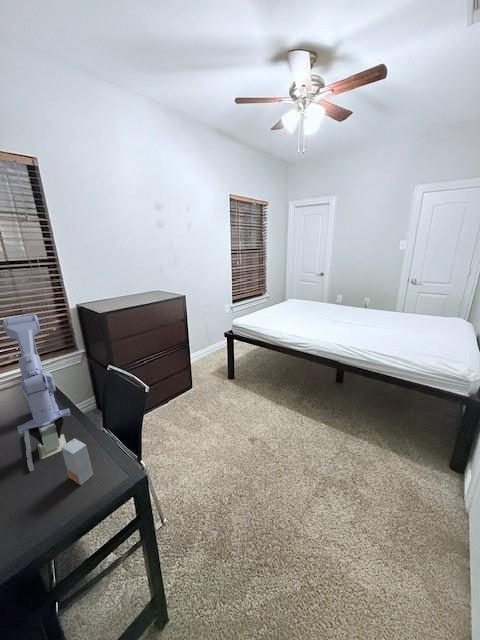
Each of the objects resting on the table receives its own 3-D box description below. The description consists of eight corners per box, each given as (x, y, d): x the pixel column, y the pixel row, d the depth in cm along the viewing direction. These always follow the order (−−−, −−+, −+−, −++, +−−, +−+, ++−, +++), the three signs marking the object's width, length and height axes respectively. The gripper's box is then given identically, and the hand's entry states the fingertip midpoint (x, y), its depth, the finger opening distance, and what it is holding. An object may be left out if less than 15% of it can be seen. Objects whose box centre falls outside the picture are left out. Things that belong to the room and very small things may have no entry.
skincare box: (68, 478, 81) (60, 446, 78) (82, 467, 85) (74, 437, 81) (80, 486, 79) (72, 454, 75) (94, 475, 82) (86, 444, 79)
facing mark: (37, 445, 95) (37, 444, 94) (63, 434, 100) (63, 433, 99) (40, 460, 88) (40, 459, 88) (67, 447, 93) (67, 447, 93)
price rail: (24, 435, 99) (23, 431, 99) (28, 433, 100) (27, 430, 100) (29, 472, 84) (28, 468, 83) (33, 470, 84) (32, 466, 84)
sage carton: (45, 452, 90) (41, 438, 88) (43, 442, 94) (39, 428, 93) (60, 446, 93) (56, 432, 91) (57, 436, 97) (54, 423, 95)
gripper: (14, 423, 81) (25, 457, 86) (68, 404, 90) (76, 436, 95) (13, 412, 86) (24, 445, 91) (65, 395, 96) (72, 426, 100)
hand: (50, 440), depth 93 cm, fingers closed on sage carton, 4 cm apart
